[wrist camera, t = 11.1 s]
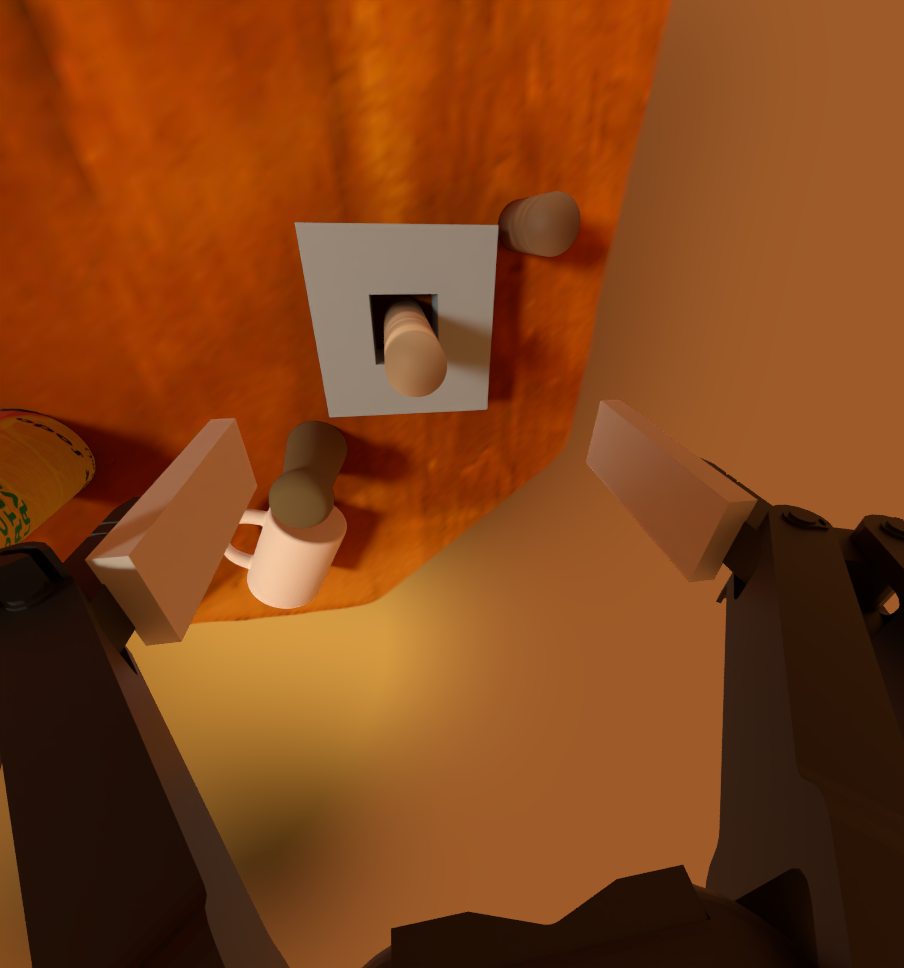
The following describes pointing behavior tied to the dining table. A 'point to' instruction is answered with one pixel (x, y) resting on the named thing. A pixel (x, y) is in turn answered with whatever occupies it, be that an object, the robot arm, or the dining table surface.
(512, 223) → the short pin
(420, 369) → the long pin
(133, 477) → the dining table surface
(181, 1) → the dining table surface
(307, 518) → the cork
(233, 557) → the mug
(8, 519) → the yellow food can
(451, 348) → the hole block
